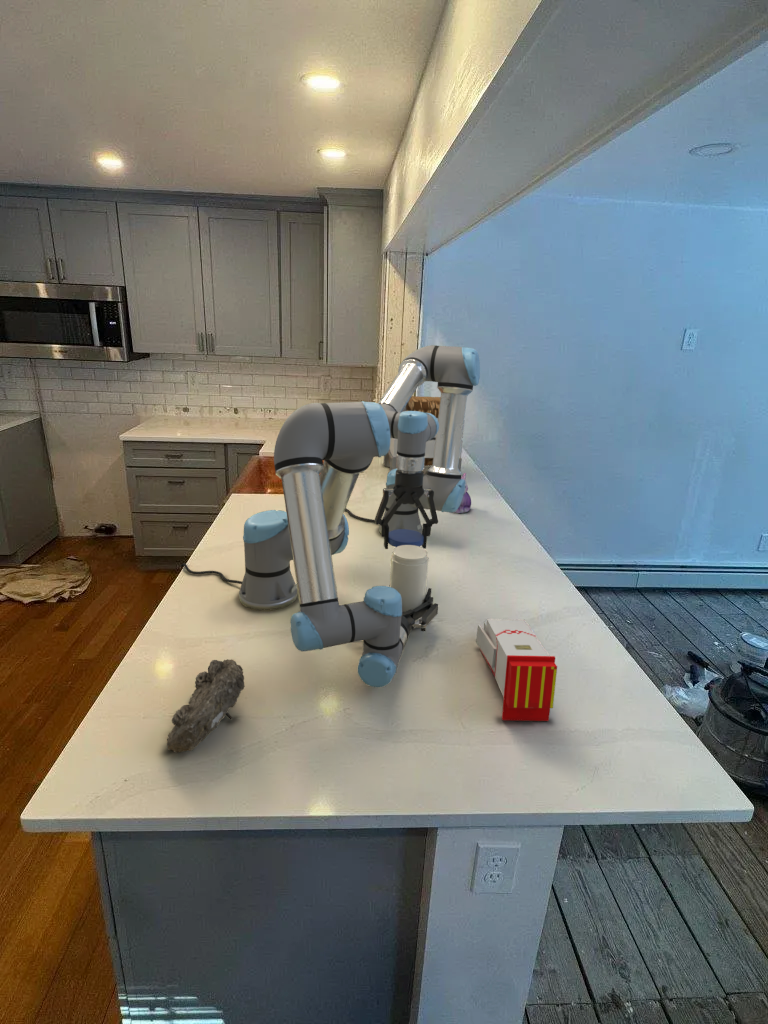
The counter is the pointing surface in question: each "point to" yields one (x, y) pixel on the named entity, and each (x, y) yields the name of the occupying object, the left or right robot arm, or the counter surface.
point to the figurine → (464, 499)
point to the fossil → (206, 705)
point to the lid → (405, 538)
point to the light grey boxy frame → (431, 407)
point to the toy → (519, 668)
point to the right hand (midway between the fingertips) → (404, 547)
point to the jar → (409, 575)
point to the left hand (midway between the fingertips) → (410, 590)
